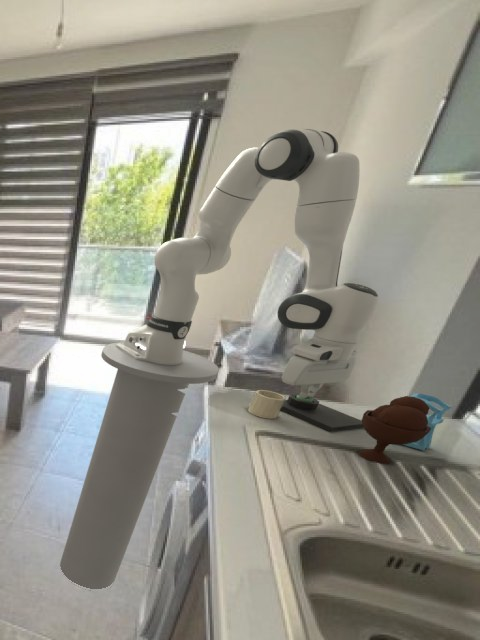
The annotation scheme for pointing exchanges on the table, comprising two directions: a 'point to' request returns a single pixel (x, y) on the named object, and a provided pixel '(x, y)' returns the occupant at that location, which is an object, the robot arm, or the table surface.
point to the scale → (320, 414)
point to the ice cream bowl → (395, 425)
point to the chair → (430, 420)
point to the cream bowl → (266, 404)
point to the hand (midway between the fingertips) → (305, 397)
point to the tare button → (304, 399)
